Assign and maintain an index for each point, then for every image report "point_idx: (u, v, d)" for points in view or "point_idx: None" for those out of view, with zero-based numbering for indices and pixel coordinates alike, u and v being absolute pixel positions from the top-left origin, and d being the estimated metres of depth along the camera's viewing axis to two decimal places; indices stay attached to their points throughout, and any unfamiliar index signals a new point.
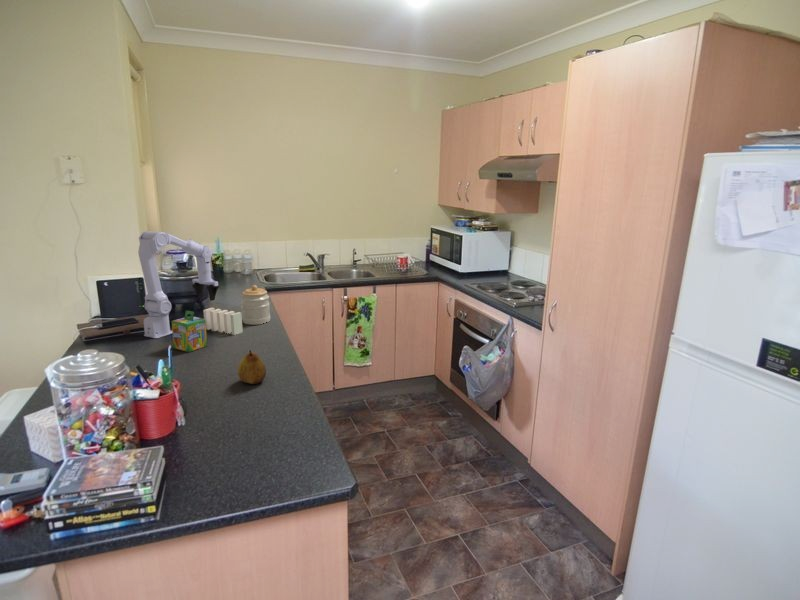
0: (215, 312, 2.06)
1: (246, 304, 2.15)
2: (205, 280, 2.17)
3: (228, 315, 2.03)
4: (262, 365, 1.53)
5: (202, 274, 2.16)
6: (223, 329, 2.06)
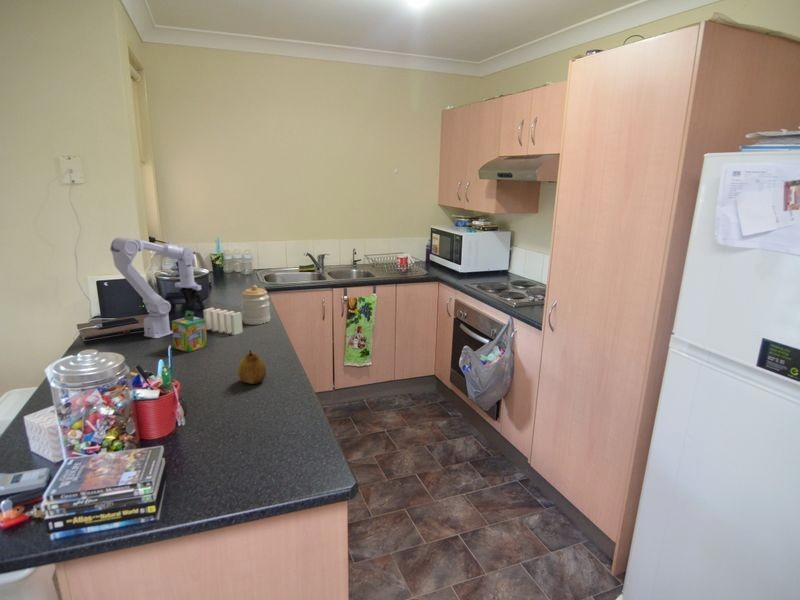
0: (215, 312, 2.06)
1: (246, 304, 2.15)
2: (187, 284, 2.06)
3: (228, 315, 2.03)
4: (262, 365, 1.53)
5: (184, 278, 2.05)
6: (223, 329, 2.06)
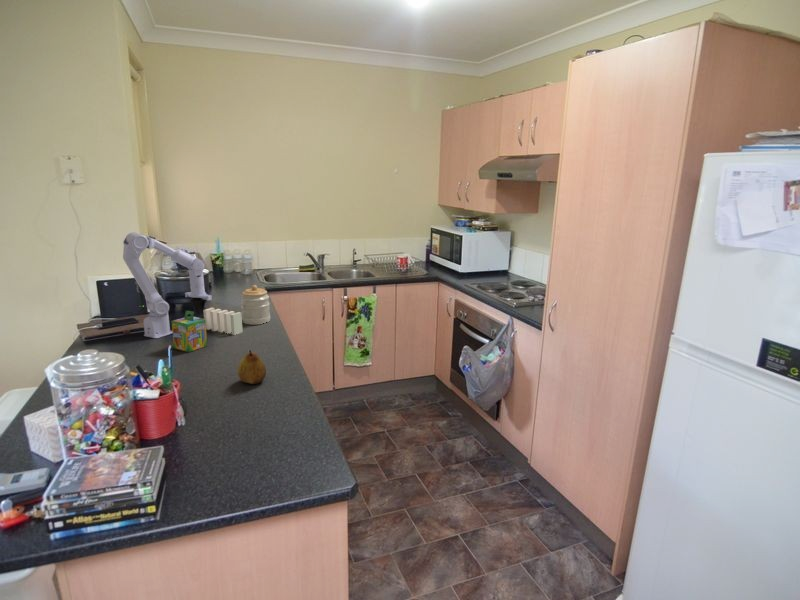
0: (215, 312, 2.06)
1: (246, 304, 2.15)
2: (198, 294, 2.07)
3: (228, 315, 2.03)
4: (262, 365, 1.53)
5: (195, 288, 2.06)
6: (223, 329, 2.06)
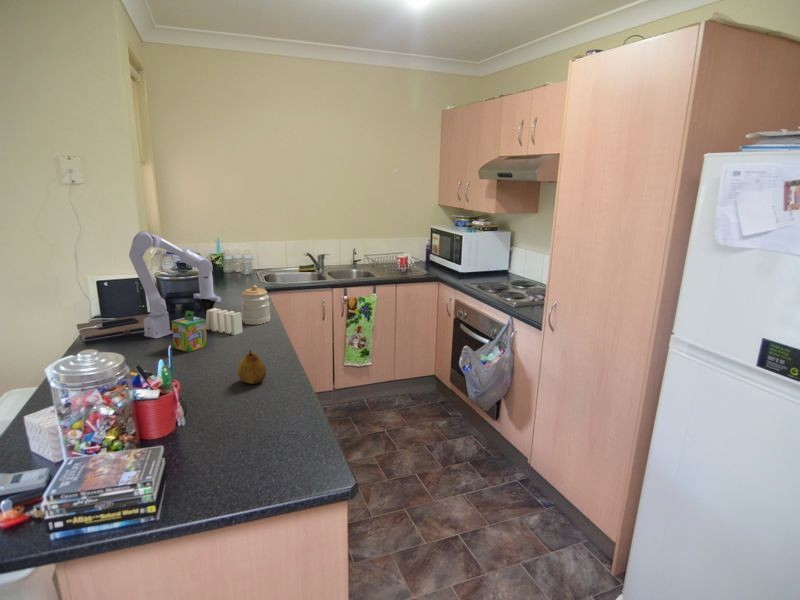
0: (215, 312, 2.06)
1: (246, 304, 2.15)
2: (207, 295, 2.05)
3: (228, 315, 2.03)
4: (262, 365, 1.53)
5: (204, 289, 2.04)
6: (223, 329, 2.06)
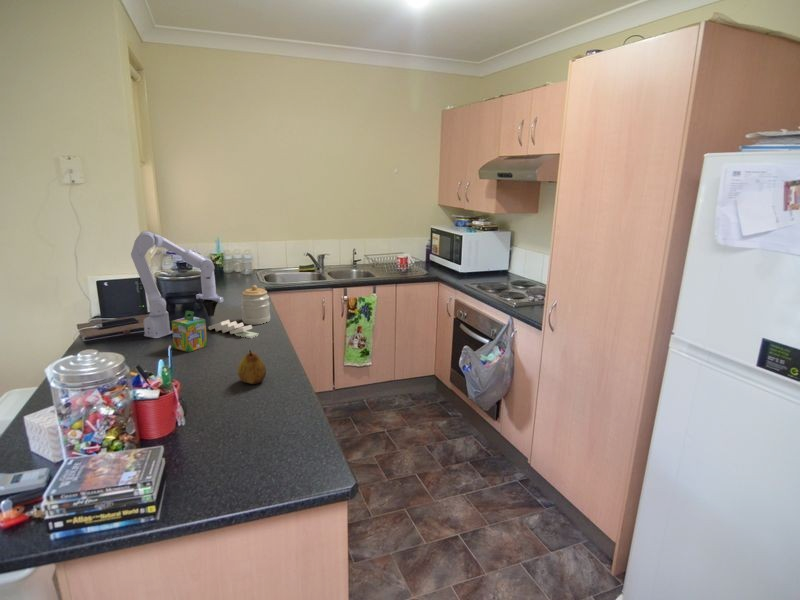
0: None
1: (246, 304, 2.15)
2: (209, 296, 2.04)
3: (244, 330, 1.99)
4: (262, 365, 1.53)
5: (207, 290, 2.03)
6: (227, 331, 2.05)
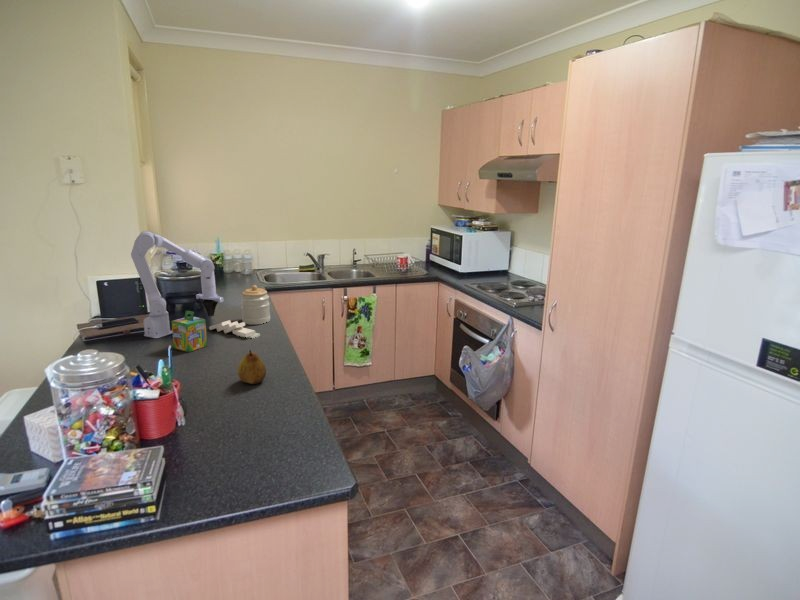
0: None
1: (246, 304, 2.15)
2: (209, 296, 2.04)
3: None
4: (262, 365, 1.53)
5: (207, 290, 2.03)
6: None
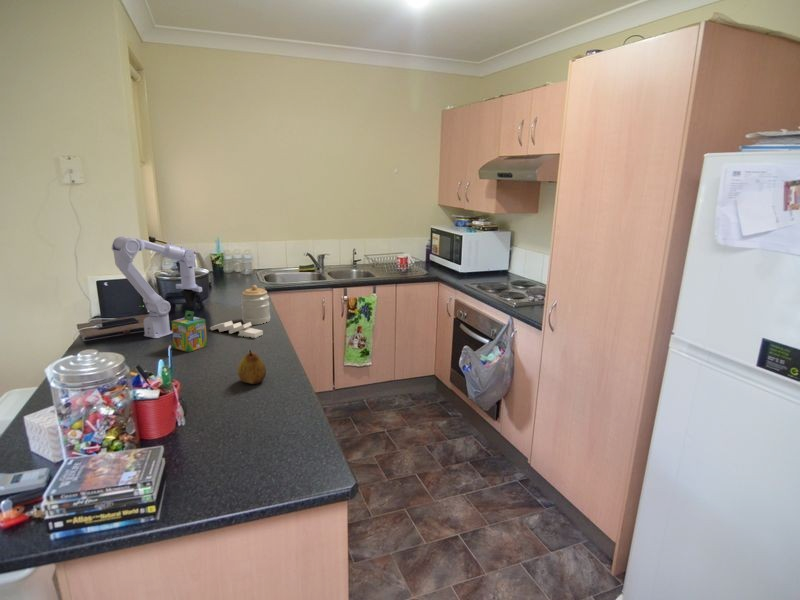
0: (235, 327, 2.03)
1: (246, 304, 2.15)
2: (188, 286, 2.06)
3: None
4: (262, 365, 1.53)
5: (186, 279, 2.05)
6: None
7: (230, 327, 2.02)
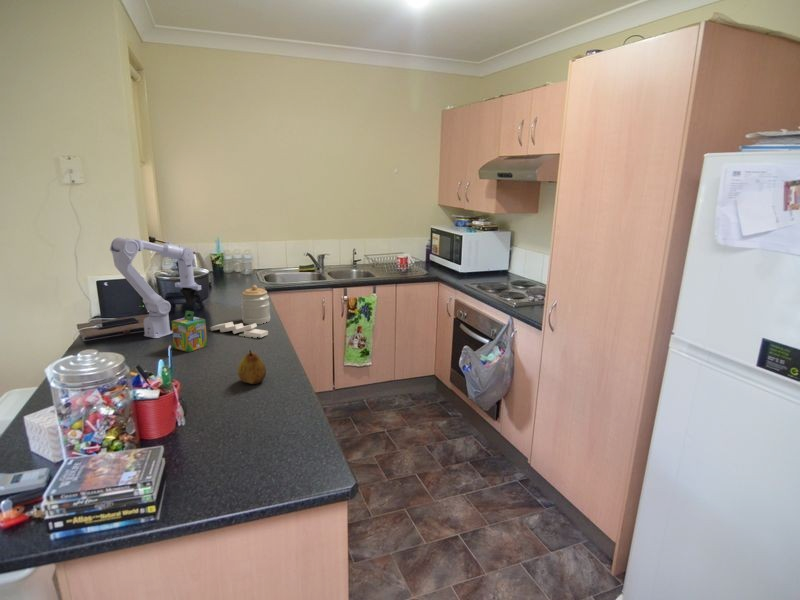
0: (237, 328, 2.03)
1: (246, 304, 2.15)
2: (187, 284, 2.06)
3: None
4: (262, 365, 1.53)
5: (184, 278, 2.05)
6: None
7: (232, 328, 2.02)
